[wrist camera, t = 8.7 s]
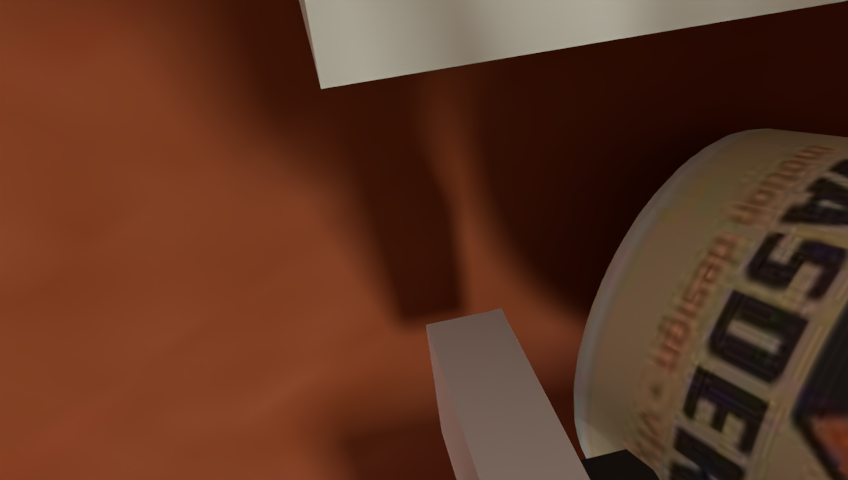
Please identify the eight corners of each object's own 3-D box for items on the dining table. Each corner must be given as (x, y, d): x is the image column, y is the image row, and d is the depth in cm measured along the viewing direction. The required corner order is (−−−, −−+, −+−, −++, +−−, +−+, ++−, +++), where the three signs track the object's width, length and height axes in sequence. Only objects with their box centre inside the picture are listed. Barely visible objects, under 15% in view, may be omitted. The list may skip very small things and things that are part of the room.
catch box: (282, -84, 11) (298, -32, 7) (1149, -205, 13) (1583, -223, 9) (409, 588, 20) (452, 802, 15) (934, 457, 21) (1105, 615, 17)
